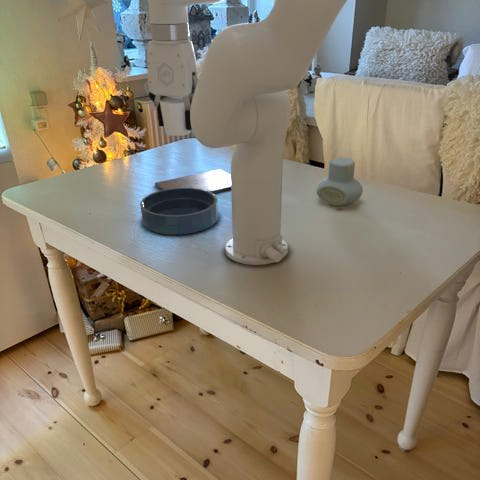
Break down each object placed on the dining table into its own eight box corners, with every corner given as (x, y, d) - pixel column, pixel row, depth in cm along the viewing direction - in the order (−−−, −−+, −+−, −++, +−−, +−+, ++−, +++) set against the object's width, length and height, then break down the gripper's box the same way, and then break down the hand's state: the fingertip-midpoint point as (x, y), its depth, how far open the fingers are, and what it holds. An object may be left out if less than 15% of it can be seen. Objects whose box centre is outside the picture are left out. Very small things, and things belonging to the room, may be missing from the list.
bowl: (231, 223, 111) (230, 204, 108) (161, 242, 103) (159, 222, 101) (196, 200, 123) (195, 182, 120) (131, 215, 116) (129, 197, 113)
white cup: (157, 135, 107) (154, 101, 103) (169, 127, 113) (166, 94, 109) (187, 137, 106) (184, 103, 102) (197, 129, 111) (195, 96, 107)
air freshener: (365, 200, 120) (371, 160, 115) (352, 212, 115) (357, 169, 109) (325, 192, 125) (328, 153, 120) (310, 203, 120) (313, 162, 114)
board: (245, 186, 130) (245, 183, 130) (177, 202, 122) (177, 198, 121) (219, 172, 140) (219, 169, 140) (155, 186, 132) (154, 182, 131)
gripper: (123, 33, 99) (135, 126, 109) (197, 37, 92) (202, 135, 103) (146, 30, 104) (155, 119, 115) (217, 33, 97) (220, 127, 108)
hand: (177, 126), depth 108 cm, fingers closed on white cup, 6 cm apart
